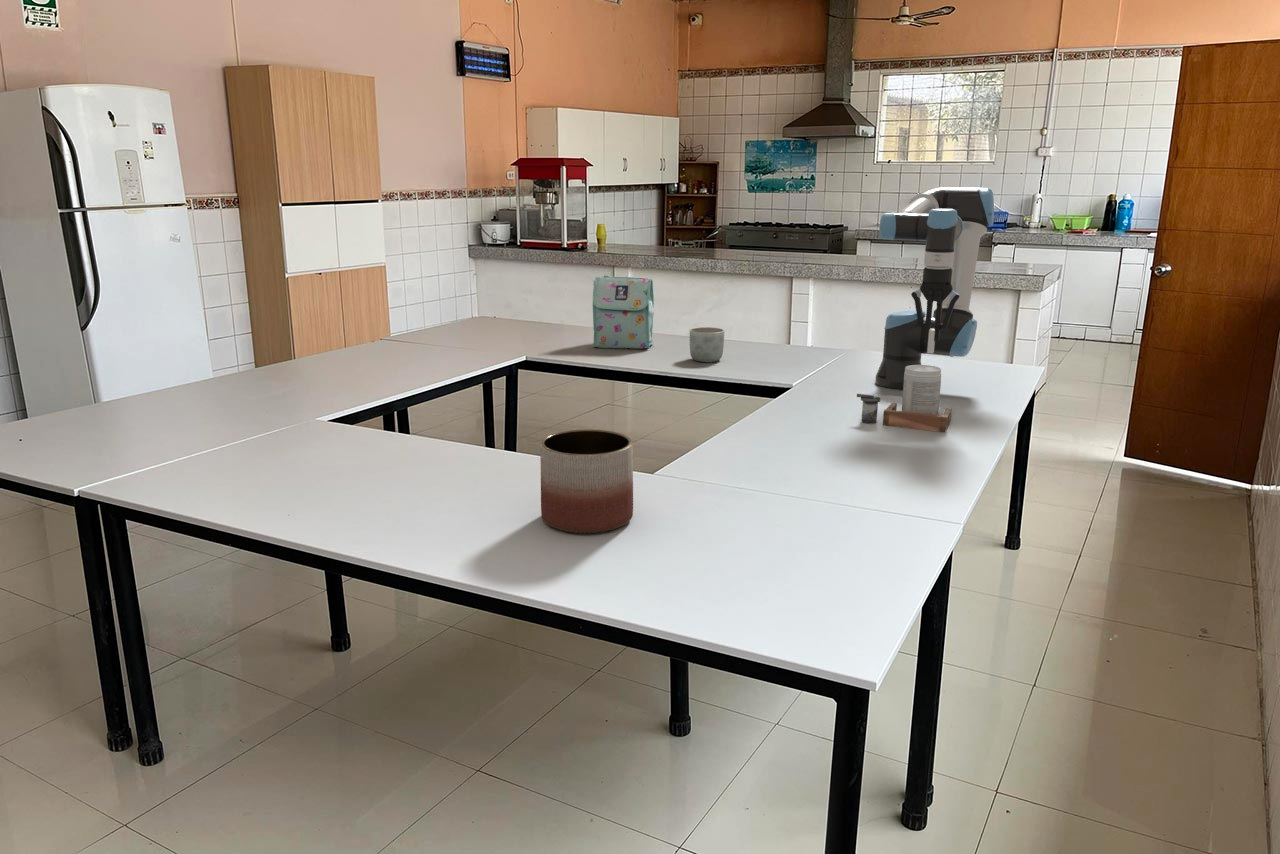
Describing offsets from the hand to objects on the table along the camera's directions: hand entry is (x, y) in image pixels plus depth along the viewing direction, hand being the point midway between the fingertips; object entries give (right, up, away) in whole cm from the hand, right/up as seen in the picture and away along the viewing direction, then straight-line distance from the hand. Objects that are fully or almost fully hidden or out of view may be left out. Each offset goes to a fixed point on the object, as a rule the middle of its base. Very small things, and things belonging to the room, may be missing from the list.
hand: (930, 352), depth 255 cm
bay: (-7, -20, -9) cm, 23 cm away
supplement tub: (-5, -19, -7) cm, 21 cm away
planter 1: (-91, -39, -78) cm, 126 cm away
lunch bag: (-88, +10, +96) cm, 130 cm away
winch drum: (-19, -19, -8) cm, 28 cm away
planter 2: (-57, +3, +71) cm, 92 cm away
